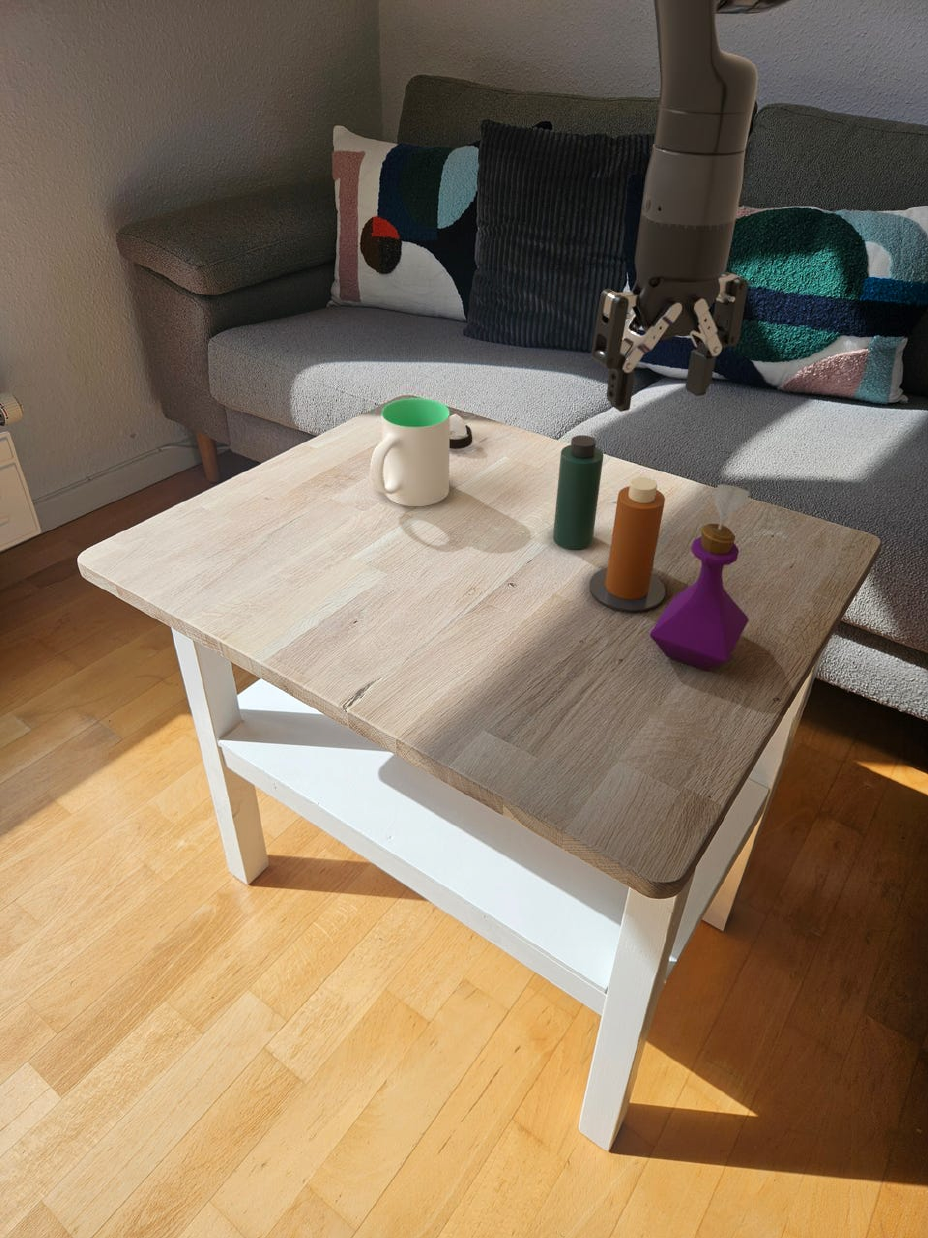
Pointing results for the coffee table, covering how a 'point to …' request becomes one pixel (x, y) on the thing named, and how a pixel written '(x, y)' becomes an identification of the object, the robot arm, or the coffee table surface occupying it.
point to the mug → (413, 452)
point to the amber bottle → (634, 539)
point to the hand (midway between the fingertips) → (658, 400)
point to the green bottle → (577, 493)
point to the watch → (460, 433)
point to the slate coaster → (626, 605)
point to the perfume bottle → (706, 597)
